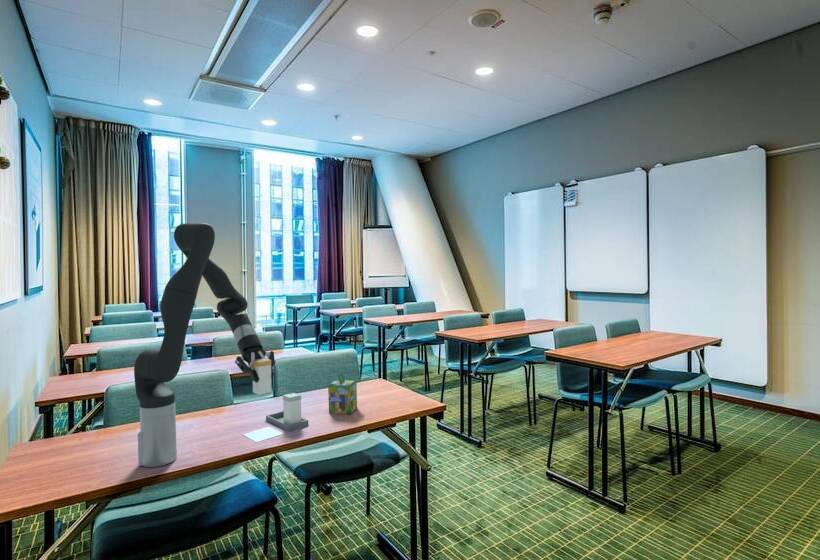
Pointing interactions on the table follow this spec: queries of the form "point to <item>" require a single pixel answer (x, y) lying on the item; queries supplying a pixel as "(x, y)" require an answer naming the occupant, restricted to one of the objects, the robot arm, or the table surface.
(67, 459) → the table surface
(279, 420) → the charcoal tray
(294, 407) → the grey-band box
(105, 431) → the table surface
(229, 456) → the table surface
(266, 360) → the orange-band box
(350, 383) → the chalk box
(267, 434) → the blue-grey pad
